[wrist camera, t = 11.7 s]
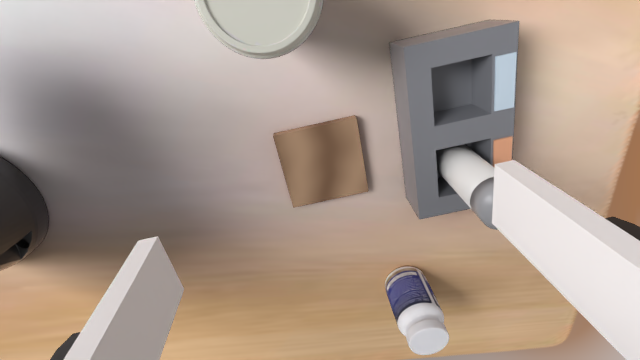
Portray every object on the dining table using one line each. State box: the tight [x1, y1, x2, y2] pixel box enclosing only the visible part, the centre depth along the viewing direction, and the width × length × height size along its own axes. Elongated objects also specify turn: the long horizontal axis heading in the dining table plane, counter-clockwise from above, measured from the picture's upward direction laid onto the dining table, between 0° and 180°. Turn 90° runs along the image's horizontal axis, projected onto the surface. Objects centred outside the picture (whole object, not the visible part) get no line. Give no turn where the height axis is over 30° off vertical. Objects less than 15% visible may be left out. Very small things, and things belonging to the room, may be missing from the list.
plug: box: [436, 144, 498, 230], centre depth 33 cm, size 4×4×12 cm
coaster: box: [273, 115, 368, 208], centre depth 39 cm, size 9×9×1 cm
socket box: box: [389, 20, 519, 219], centre depth 36 cm, size 10×18×5 cm, turn 12°
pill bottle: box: [385, 266, 449, 355], centre depth 44 cm, size 6×6×10 cm
